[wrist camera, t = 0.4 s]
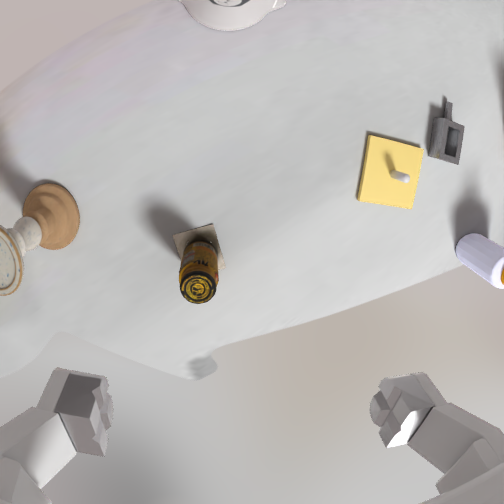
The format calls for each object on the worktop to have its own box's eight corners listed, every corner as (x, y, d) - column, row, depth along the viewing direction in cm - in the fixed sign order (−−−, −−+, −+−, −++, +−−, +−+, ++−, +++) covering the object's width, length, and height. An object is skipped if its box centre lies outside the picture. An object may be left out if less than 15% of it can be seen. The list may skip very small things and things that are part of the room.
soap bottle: (492, 237, 64) (548, 271, 45) (481, 267, 67) (534, 306, 48) (461, 228, 61) (523, 265, 43) (449, 261, 64) (506, 304, 46)
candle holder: (54, 168, 47) (-12, 196, 29) (93, 223, 52) (43, 273, 33) (15, 210, 48) (-49, 250, 30) (51, 259, 53) (0, 316, 35)
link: (436, 98, 50) (447, 98, 47) (455, 106, 51) (466, 107, 47) (428, 156, 54) (438, 158, 51) (447, 161, 55) (458, 164, 52)
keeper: (368, 134, 52) (383, 137, 47) (420, 148, 53) (437, 152, 48) (357, 199, 56) (370, 207, 51) (409, 207, 58) (424, 216, 53)
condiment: (187, 277, 58) (182, 313, 47) (172, 234, 55) (163, 263, 44) (225, 267, 58) (230, 302, 47) (213, 223, 55) (214, 250, 44)
